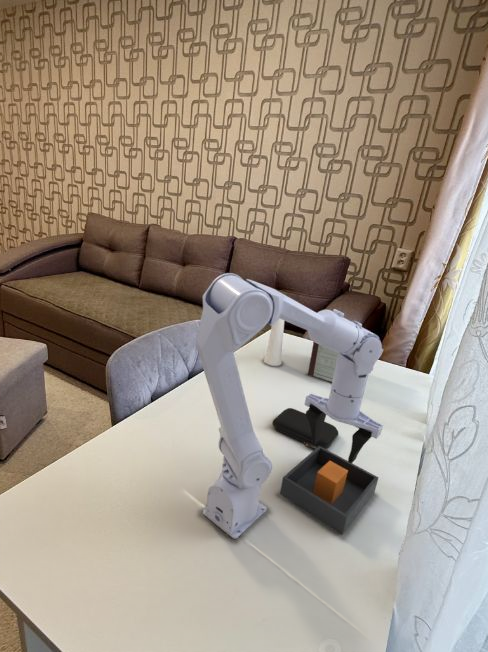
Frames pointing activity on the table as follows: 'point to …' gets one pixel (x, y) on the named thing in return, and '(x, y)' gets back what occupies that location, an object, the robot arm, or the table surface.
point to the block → (330, 482)
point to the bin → (345, 506)
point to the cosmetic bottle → (275, 344)
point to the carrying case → (303, 428)
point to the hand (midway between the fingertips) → (333, 450)
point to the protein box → (322, 362)
